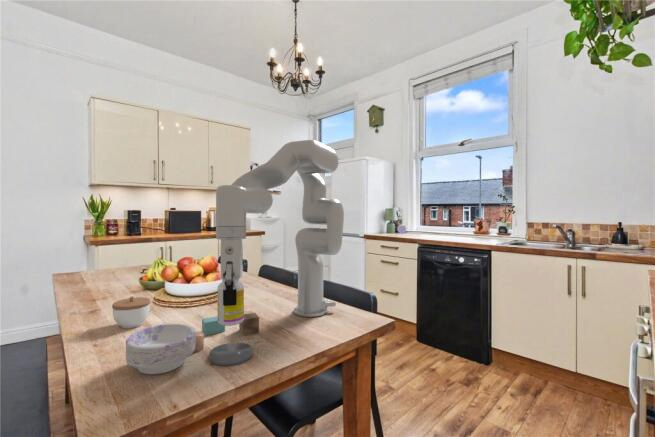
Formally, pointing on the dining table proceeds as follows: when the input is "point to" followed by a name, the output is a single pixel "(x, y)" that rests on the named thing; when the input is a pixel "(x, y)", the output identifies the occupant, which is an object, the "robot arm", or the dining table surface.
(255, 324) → the walnut cube
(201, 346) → the glossy tan egg
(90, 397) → the dining table surface
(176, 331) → the paper bowls
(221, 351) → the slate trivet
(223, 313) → the supplement bottle
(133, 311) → the lidded jar
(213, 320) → the teal block
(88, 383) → the dining table surface
